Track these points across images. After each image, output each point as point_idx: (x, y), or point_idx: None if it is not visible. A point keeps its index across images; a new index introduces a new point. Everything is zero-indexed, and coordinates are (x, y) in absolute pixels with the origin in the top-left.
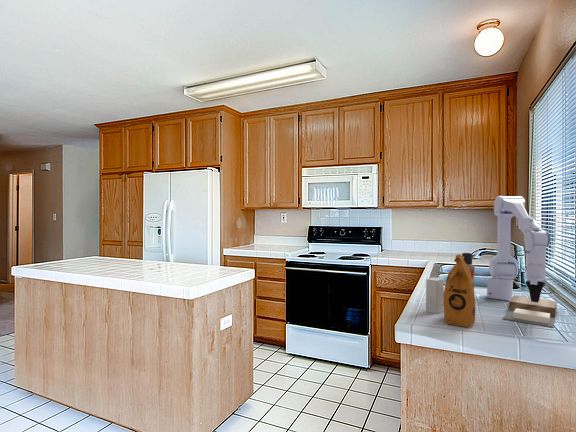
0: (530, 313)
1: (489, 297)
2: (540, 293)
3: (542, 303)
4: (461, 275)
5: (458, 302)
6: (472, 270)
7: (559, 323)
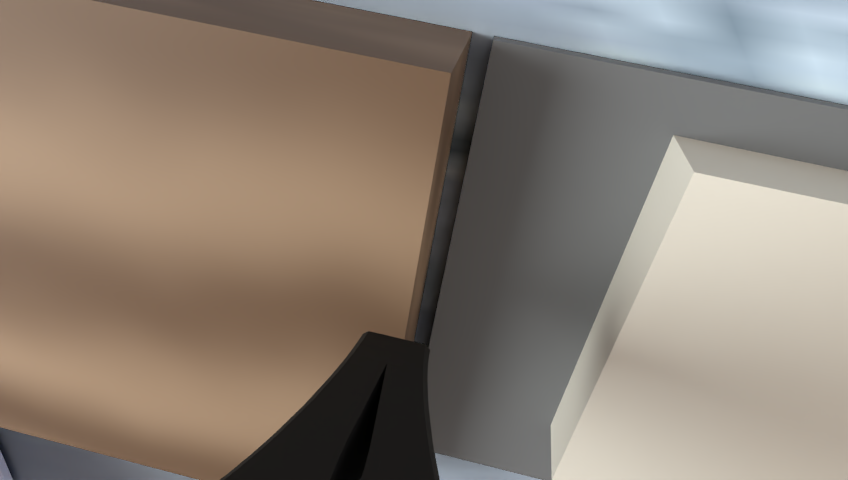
0: (809, 412)
1: (7, 476)
2: (395, 470)
3: (192, 212)
4: None
5: None
6: None
7: (819, 23)
